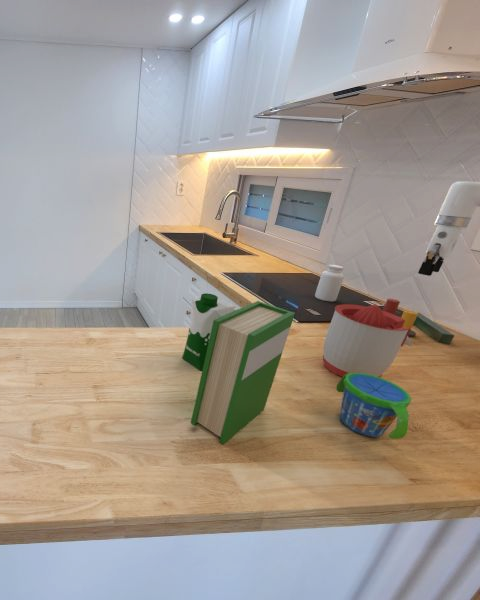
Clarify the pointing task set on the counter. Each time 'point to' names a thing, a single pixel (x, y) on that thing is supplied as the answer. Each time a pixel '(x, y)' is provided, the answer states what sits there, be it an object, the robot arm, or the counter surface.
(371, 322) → the citrus juicer
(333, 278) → the pill bottle
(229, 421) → the hardback book
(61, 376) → the counter surface
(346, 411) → the snack cup
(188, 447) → the counter surface
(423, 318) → the bar
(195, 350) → the milk carton
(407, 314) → the mustard post
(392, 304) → the red post
